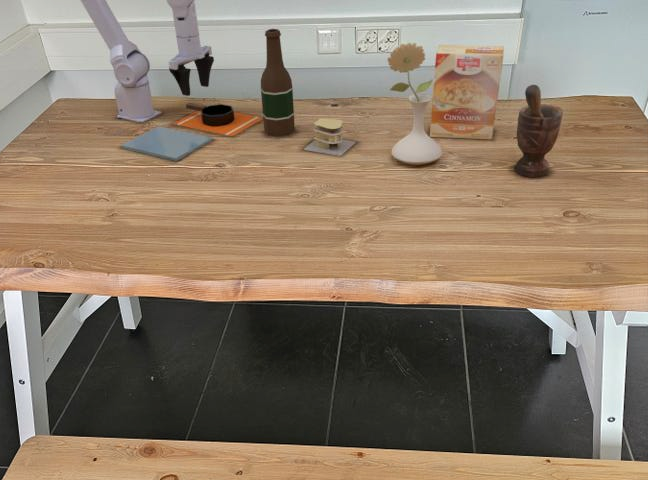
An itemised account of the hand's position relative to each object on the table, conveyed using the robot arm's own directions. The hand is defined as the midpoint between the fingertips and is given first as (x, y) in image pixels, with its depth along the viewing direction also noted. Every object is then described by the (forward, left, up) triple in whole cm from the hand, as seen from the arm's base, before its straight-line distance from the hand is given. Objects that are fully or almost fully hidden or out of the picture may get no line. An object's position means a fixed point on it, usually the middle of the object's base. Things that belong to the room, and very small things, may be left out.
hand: (195, 90), depth 179 cm
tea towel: (+6, 0, -7) cm, 10 cm away
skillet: (+3, 0, -7) cm, 8 cm away
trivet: (+4, -18, -7) cm, 20 cm away
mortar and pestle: (+88, +5, -7) cm, 89 cm away
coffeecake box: (+66, +20, -7) cm, 70 cm away
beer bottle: (+25, +1, -7) cm, 26 cm away
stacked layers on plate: (+41, -1, -7) cm, 42 cm away
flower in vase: (+62, +1, -7) cm, 63 cm away
